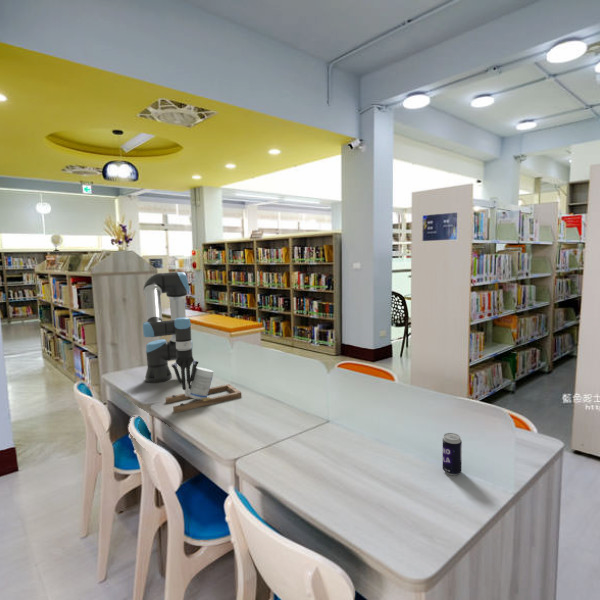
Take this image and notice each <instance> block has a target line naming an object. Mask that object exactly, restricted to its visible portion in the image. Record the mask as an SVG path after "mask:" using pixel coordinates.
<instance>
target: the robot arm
mask: <svg viewBox="0 0 600 600" xmlns="http://www.w3.org/2000/svg"><path fill="white" fill-rule="evenodd" d="M188 292H190V285H189V280H188V276H187V274H186V273H185V272H183V271H175V272H163V273H162V272H160V273H155V274H153V275H151V276H150V277H149V278H148V279H147V280H146V281H145V283H144V285H143V295H144V296H145V303H146V304H145V306H146V307H145V309H146V310H145V311H146V322H143V324H142V331H143V337H144V338H154V337H155V338H156V337H163V336H171V337H170V338H169V341H167V340H166V339H164V338H163V339H156V340H152V341H150V342H148V343H147V344H146V345H145V353H146V362H147V364H146V365H147V368H146V374H145V380H144V381H145V382H147V383H160V382H161V383H162V382H166V381H169V380H171V379H172V378H173V374H172V371H171V369H170V367H169V361H175V362H174V363H172V364H171V367H172V368H173V371H174V373H175V376H176V379H177V382H178V383H179V384H182V387H181V388H182V390H183V391H184V394H185V396H186V397H187V396H189V389H190V388H191V382H192V381H194V377H195V372H196V367H198V364H199V361H198V360H196V359H194V357H193V339H192V329H191V328H192V327H191V325H192V324H191V319H190V317H187V314H186V301H185V300H186V299H185V298H186V296H187V295H188ZM162 294H165V295H166V297H167V298H169V309H170V320H169V319H168V320H163V313H162V312H163V310H162V301H161V299H162V298H161V295H162ZM178 366H179V368H180V371H179V370H178ZM191 367H192V368H191ZM185 371H186V372H185ZM180 375H181V376H180Z"/></svg>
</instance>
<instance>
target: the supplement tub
mask: <svg viewBox="0 0 600 600" xmlns="http://www.w3.org/2000/svg"><path fill="white" fill-rule="evenodd" d="M213 378H214V371H213V370H211V369H209V368H205V367H199V366H196V372H195V377H194V381H191V383H190V385H191V388H190V389H189V397H191V398H192V399H194V400H196V401H200V400H202V399H203V398H207V397H208V396H209V394H208V392H209V388H211V384H212V381H213ZM191 398H190V399H191Z"/></svg>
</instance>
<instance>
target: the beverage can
mask: <svg viewBox="0 0 600 600" xmlns="http://www.w3.org/2000/svg"><path fill="white" fill-rule="evenodd" d="M462 443H463V442H462V439H461V436H460V435H459V434H457V433H455V432H454V433H453V432H447V433H444V434H443V437H442V470H443V471H444V472H445V473H446V474H447V475H450V476H458V475H459V474H460V473H461V472H462V461H463V460H462V455H463V454H462V453H463V451H462V447H463V444H462Z"/></svg>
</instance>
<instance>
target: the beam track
mask: <svg viewBox="0 0 600 600" xmlns="http://www.w3.org/2000/svg"><path fill="white" fill-rule="evenodd" d="M224 391H228V392H230V393H227V394H222V395H218V396H212V397H210V396H209V397H208V396H207V398H203V399H202V400H196V401H192V402H191V401H190V402H186V403H180V404H179V405H173V406H172V409H173V410H172V411H173V413H180V412H183V411H188V410H193V409H195V408H201V407H205V406H209V405H213V404H217V403H222V402H225V401H231V400H234V399H239V398H241V397H242V396H243V395H242V392H241V391H240V390H238V389H237V388H236V387H234V386H233V385H231V384H230V383H227V384H222V385H219V386H218V385H217V386H212V387H210V388H209V392H208V395H210V394H211V395H212V394H214V393H218V392H224ZM188 399H191V397H189V396H187V397H186V396H185V393H181V394H177V395H176V394H172V395H171V396H167V397H165V403H166V404H170V403H173V402H179V401H184V400H188Z"/></svg>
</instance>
